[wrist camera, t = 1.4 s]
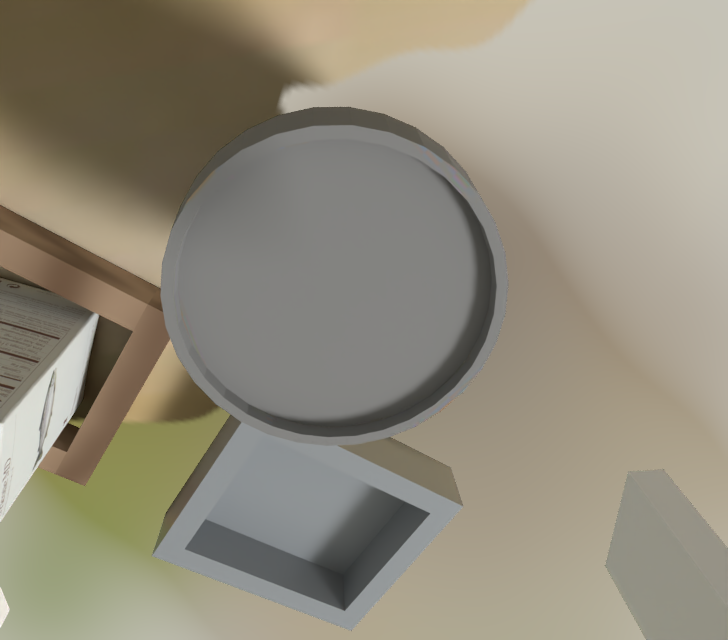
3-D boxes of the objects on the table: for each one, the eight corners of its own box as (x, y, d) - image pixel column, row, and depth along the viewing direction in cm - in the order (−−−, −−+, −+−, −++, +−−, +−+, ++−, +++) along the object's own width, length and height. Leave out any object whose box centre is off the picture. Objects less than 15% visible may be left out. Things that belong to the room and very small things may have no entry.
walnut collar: (-119, 371, 36) (-148, 393, 34) (-47, 181, 31) (-75, 191, 29) (98, 461, 40) (84, 486, 38) (189, 303, 35) (180, 320, 33)
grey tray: (166, 512, 42) (151, 555, 39) (259, 371, 38) (253, 405, 34) (348, 586, 47) (351, 630, 43) (450, 467, 42) (463, 506, 39)
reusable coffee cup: (430, 73, 31) (519, 91, 17) (441, 288, 36) (514, 429, 23) (197, 100, 31) (102, 140, 17) (243, 312, 36) (198, 471, 22)
